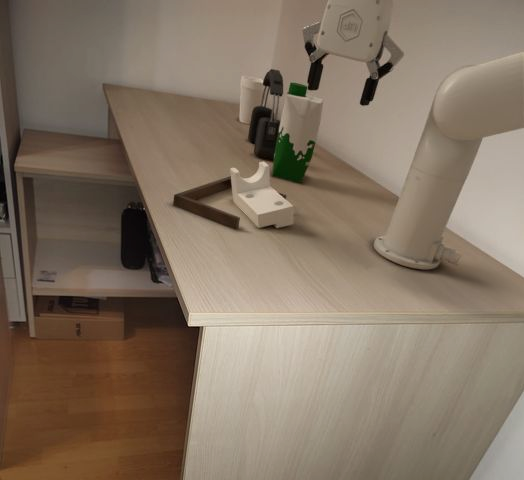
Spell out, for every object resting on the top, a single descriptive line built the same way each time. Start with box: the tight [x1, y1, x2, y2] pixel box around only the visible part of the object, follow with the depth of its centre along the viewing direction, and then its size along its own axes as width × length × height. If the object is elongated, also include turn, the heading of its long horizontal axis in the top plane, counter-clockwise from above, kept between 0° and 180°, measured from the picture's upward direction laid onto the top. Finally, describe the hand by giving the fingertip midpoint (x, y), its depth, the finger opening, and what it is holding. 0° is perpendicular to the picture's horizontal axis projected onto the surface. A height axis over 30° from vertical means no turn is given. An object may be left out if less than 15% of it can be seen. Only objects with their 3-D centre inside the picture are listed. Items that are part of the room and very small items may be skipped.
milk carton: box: [271, 82, 324, 184], centre depth 115 cm, size 9×9×20 cm
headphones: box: [247, 68, 284, 160], centre depth 132 cm, size 22×6×20 cm, turn 8°
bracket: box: [229, 161, 294, 229], centre depth 93 cm, size 13×7×8 cm, turn 24°
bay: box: [172, 175, 287, 230], centre depth 96 cm, size 14×21×2 cm, turn 153°
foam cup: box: [238, 75, 269, 125], centre depth 162 cm, size 10×9×13 cm
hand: (337, 97), depth 83 cm, fingers open, 9 cm apart
